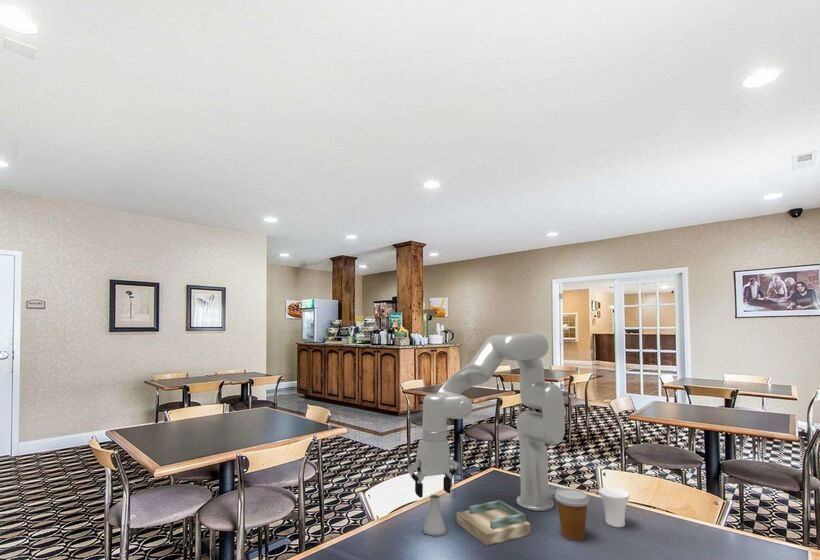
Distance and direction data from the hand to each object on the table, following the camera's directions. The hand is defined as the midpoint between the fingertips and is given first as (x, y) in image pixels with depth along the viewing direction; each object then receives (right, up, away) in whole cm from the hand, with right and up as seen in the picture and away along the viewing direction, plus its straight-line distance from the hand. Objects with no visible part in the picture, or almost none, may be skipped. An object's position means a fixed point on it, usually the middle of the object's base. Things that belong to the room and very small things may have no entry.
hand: (433, 493), depth 131 cm
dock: (+18, -11, +1) cm, 22 cm away
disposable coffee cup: (+42, -11, -3) cm, 43 cm away
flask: (0, -11, -1) cm, 11 cm away
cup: (+58, -12, +4) cm, 59 cm away
